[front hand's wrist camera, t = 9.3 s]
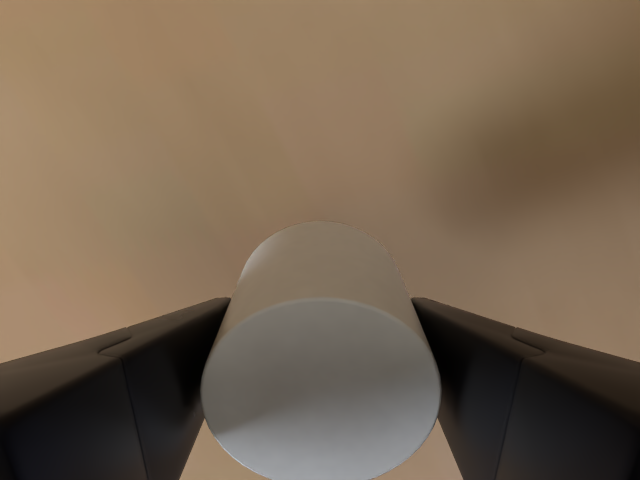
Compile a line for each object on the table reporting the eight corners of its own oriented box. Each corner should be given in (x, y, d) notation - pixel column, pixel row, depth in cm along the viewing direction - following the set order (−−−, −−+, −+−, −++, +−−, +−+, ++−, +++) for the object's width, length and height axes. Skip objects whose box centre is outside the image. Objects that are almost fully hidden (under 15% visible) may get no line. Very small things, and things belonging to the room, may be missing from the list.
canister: (232, 220, 12) (184, 298, 8) (408, 219, 12) (456, 297, 8) (245, 363, 13) (212, 489, 9) (396, 363, 13) (430, 488, 9)
